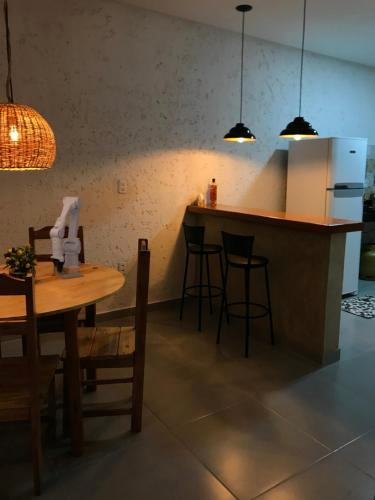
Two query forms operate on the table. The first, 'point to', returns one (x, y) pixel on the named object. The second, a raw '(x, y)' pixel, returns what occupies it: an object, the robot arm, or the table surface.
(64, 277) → the baseplate
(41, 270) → the table surface
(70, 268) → the terracotta brick
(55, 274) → the walnut brick
